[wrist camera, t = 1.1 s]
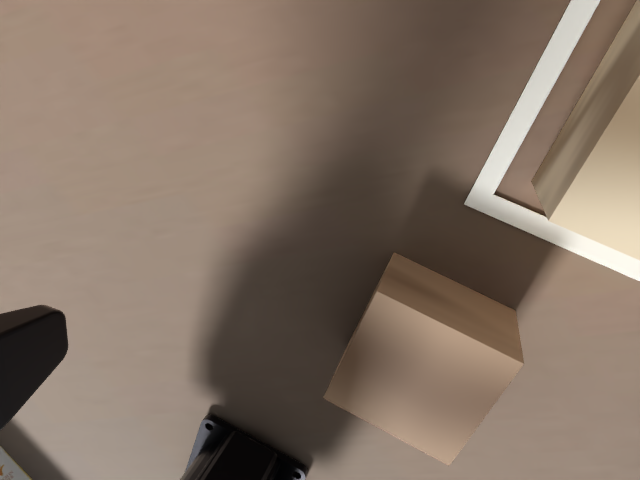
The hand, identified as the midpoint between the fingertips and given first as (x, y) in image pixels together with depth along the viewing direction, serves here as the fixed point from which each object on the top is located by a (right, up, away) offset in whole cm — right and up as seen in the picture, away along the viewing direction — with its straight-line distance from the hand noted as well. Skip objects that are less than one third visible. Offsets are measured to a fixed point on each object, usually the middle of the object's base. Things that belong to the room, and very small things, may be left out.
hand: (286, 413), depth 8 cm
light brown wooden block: (+5, -1, +13) cm, 14 cm away
